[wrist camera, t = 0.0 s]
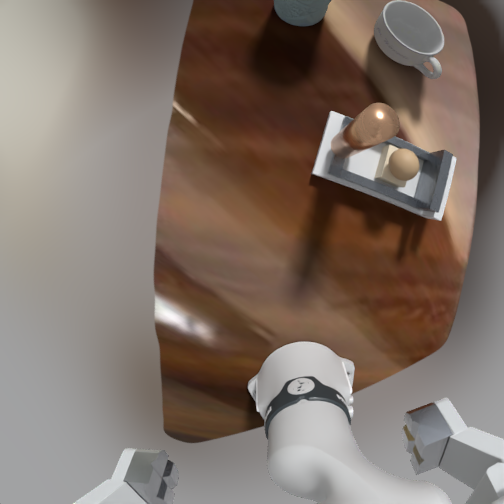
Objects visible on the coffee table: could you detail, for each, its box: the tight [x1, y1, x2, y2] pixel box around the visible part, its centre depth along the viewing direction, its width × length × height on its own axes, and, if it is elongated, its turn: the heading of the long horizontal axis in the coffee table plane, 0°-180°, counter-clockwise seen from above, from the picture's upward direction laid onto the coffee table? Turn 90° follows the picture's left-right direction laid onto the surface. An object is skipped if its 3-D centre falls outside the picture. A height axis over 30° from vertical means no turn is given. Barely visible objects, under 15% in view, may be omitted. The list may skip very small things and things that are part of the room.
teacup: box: [374, 0, 444, 79], centre depth 35 cm, size 14×11×8 cm
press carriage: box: [327, 103, 453, 213], centre depth 33 cm, size 9×17×17 cm, turn 73°
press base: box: [312, 111, 457, 221], centre depth 39 cm, size 10×20×9 cm, turn 73°
